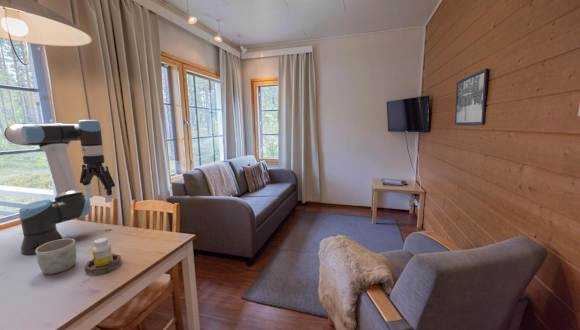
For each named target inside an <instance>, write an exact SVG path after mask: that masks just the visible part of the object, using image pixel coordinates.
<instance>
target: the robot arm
mask: <svg viewBox="0 0 580 330" xmlns="http://www.w3.org/2000/svg"><path fill="white" fill-rule="evenodd" d="M3 135H4V137H5V139H6V140H7V141H8V142H9V143H11V144H15V145H19V146H39V149H40V150H41V151H43V152H45V156H46V159H47V163H48V166H49V171H50V173H51V177H52V181H53V184H54V188H55V191H56V196H54V200H51V199H42V200H37V201H34V202H30V203H27V204H25V205H23V206H22V207H20V208H19V211H18V214H19V218H18V219H19V220H20V223H21V228H22V229H21V230H22V233H23V239H22V243H21V246H20V251H21V255H28V256H29V255H30V256H32V255H36V252H35V250H36V249H37V248H38V247H39V246H41V245H43V244H45V243H48V242H51V241H55V240H59V239H64V238H63V236H62V235H61V234H60V232H59V231H58V229H57V224H60V223H64V222H67V221H72V220H77V219H80V218H82V217H86V216H87V215H89V214H90V211H91V201H90V199H92V198H94V195H93V187H92V186H93V185H92V179H93V178H94V176H95V177H96V178H98V179H99V181H100V182H101V184H102V185H103V187H104V188H103V192H104V193H103V194H104V201H105V202H104V203H106V204H107V203H111V202H113V201H114V200H113V190H112V188H113V187H116V184H115V181H114V180H113V177H112V176H111V173H110V171H109V167H108V165H106V166H103V164H104V163H105V161H106V160H105V155H104V145H103V139H102V138H103V137H102V127H101V123H100V120H97V119H80V120H78V121H77V123H62V122H22V123H21V122H19V123H16V124H12V125H9V126H8V127H6V128H5V130H4V133H3ZM77 141H80V146H81V154H82V155H83V156H82V162H83V164H82V165H81V173H80V177H79V179H80V180H79V184H82V185H83V188H84V189H83V190H84V193H83V191H81V190H79V188H78V185H77V181H76V178H75V174H74V172H73V168H72V165H71V162H70V158H69V154H68V147H69V146H70V144H71V142H77Z"/></svg>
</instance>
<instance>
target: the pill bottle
mask: <svg viewBox="0 0 580 330" xmlns="http://www.w3.org/2000/svg"><path fill="white" fill-rule="evenodd" d="M93 244H94V247H92V250H91V251H92V257H93V259H94V264H95V267H96V268H99V267H104V266H107V265H109V264H111V263H113V257H112V254H113V250H112V244H110V243H109V241H108V238H106V237H101V238H98V239H95V240H94V241H93Z"/></svg>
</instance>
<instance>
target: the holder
mask: <svg viewBox="0 0 580 330" xmlns="http://www.w3.org/2000/svg"><path fill="white" fill-rule="evenodd" d="M112 257H113V263H111V264H109V265H107V266H104V267H99V268H96V267H95V264H94V258H93V259H91V260H88V261H87V262H86V264H85V266H84V273H85V274H86V275H87V276H100V275H104V274H107V273H109V272H112V271H115V269H117V268H119V267H120V265H121V263H122V256H121V255H120V254H116V253H112Z"/></svg>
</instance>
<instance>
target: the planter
mask: <svg viewBox="0 0 580 330" xmlns="http://www.w3.org/2000/svg"><path fill="white" fill-rule="evenodd" d="M35 252H36V254H35V255H36V259H37V263H38V266H39V269H40V271H41V272H42V273H43V274H46V275H54V274H58V273H62V272H64V271H67V270H69V269H70V268H72V267H73V266H74V265H75V264H76V262H77V247H76V239H74V238H63V239H59V240H55V241H51V242H48V243H45V244H43V245H41V246H39V247H38V248H37V249H36V250H35Z"/></svg>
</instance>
